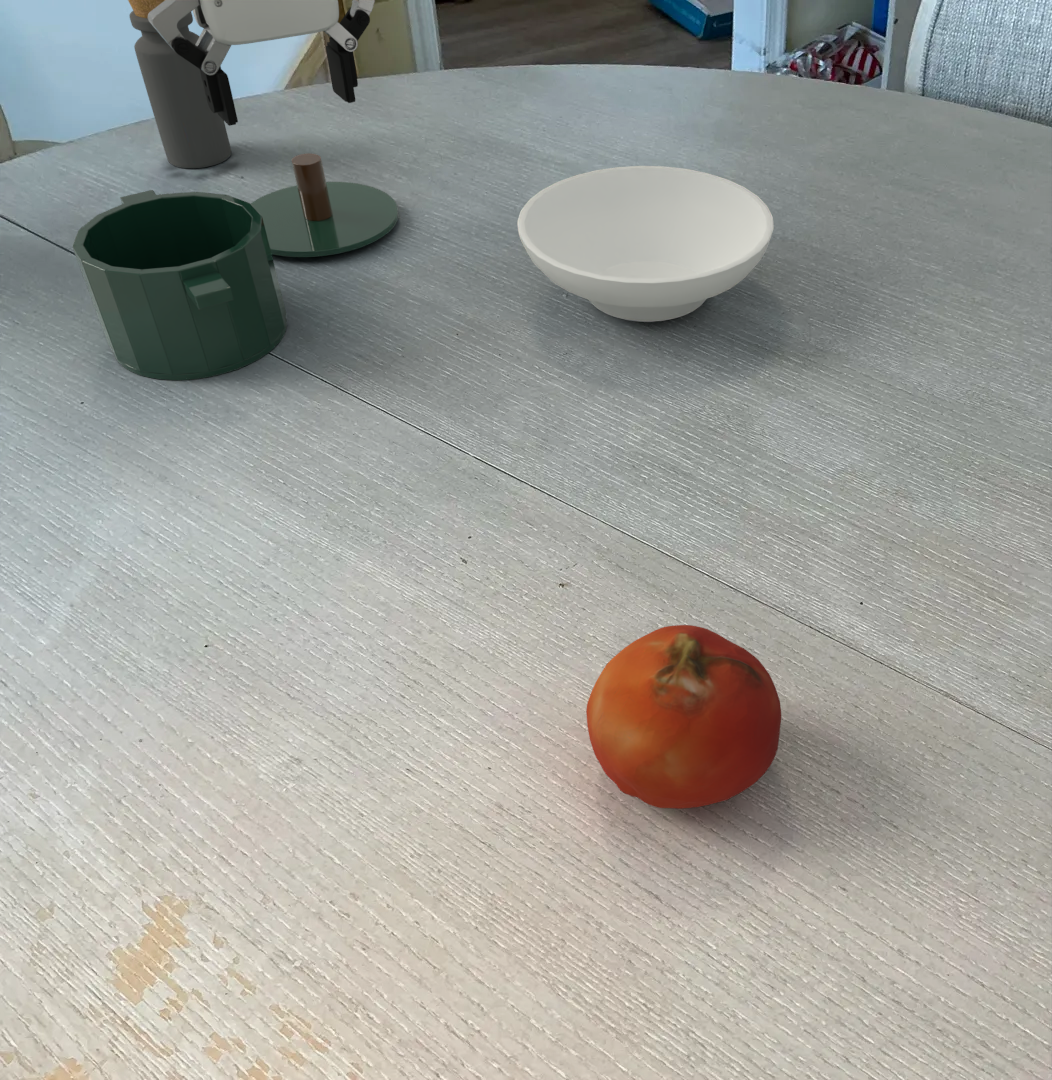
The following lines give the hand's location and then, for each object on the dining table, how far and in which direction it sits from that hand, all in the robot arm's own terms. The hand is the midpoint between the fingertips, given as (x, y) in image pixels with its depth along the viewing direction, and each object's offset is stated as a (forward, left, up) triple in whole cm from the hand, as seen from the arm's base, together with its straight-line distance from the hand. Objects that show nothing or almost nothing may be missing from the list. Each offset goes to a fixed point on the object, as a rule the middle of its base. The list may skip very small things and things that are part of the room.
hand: (287, 108), depth 95 cm
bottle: (-4, +20, -11) cm, 23 cm away
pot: (-14, -12, -10) cm, 21 cm away
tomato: (-7, -66, -11) cm, 67 cm away
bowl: (+17, -26, -11) cm, 33 cm away
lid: (+1, 0, -10) cm, 10 cm away
